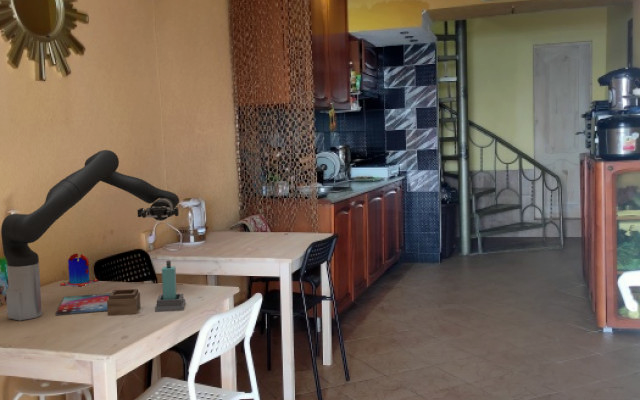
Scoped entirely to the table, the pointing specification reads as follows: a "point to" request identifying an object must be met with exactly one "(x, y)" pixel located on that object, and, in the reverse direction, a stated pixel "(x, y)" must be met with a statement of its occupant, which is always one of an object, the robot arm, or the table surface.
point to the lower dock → (170, 304)
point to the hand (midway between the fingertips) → (156, 214)
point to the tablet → (83, 304)
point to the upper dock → (123, 302)
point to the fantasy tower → (78, 271)
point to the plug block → (169, 281)
